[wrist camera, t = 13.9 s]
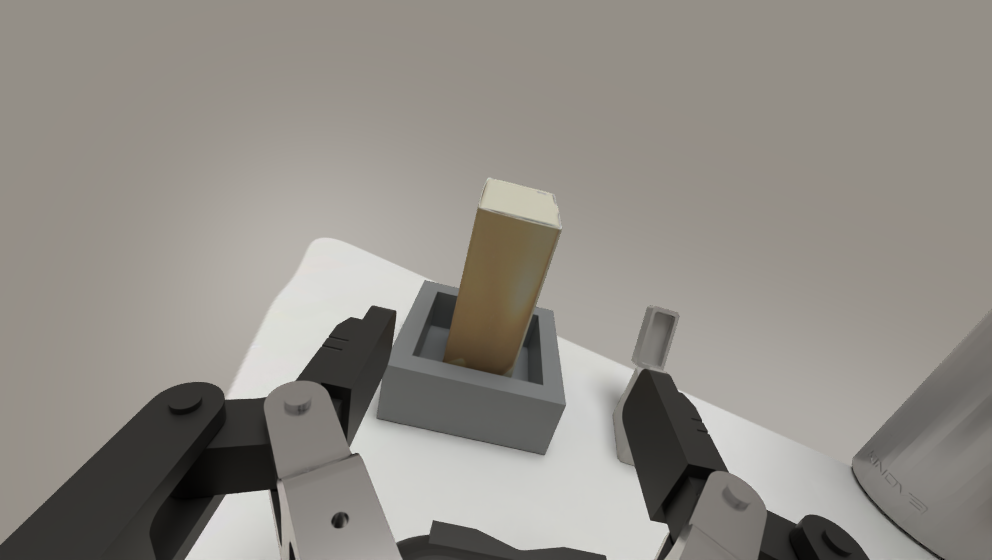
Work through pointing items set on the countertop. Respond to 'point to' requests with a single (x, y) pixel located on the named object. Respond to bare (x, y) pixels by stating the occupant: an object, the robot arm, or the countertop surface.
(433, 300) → the holder
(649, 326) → the lighter
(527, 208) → the skincare box
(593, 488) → the countertop surface
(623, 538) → the countertop surface
